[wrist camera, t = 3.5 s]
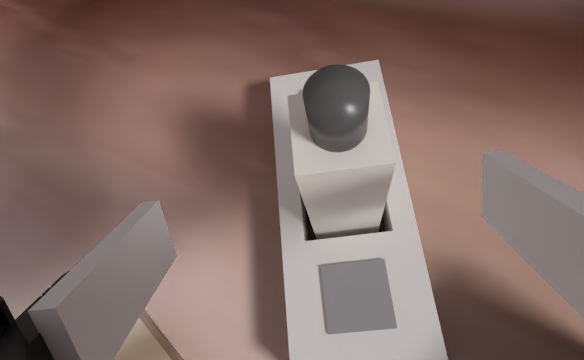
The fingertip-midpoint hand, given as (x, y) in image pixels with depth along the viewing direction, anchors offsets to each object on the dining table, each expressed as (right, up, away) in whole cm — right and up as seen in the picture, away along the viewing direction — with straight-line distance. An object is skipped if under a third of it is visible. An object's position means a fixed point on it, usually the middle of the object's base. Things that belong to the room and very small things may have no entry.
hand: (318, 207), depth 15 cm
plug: (+2, -1, +10) cm, 11 cm away
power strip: (+3, -3, +10) cm, 10 cm away
